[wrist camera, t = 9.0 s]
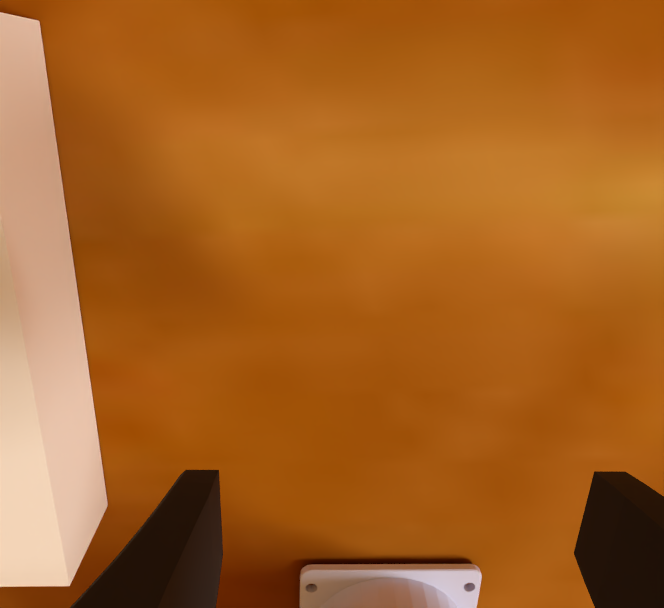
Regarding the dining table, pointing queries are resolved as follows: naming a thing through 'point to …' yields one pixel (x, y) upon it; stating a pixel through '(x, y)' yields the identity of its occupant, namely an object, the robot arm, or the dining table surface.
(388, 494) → the dining table surface
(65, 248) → the white rectangular box
